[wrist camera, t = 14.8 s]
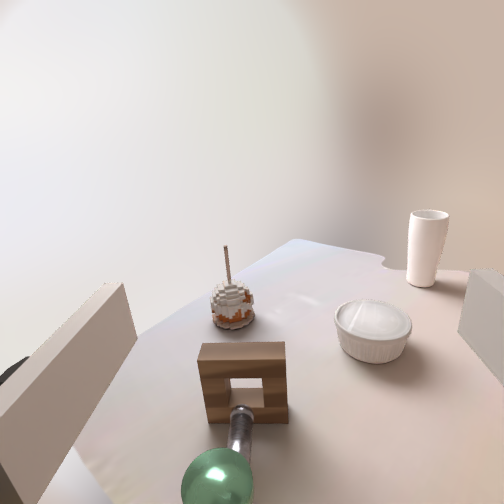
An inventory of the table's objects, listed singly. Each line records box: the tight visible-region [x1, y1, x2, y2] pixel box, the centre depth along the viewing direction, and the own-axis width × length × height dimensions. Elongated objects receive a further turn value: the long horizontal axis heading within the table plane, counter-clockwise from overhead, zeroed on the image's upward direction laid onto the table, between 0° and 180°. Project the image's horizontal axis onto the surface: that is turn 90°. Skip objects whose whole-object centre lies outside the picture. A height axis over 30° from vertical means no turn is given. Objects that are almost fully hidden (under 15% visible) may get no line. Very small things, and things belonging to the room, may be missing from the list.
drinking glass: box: [406, 210, 449, 287], centre depth 65 cm, size 7×7×15 cm
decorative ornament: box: [210, 245, 255, 329], centre depth 58 cm, size 8×8×15 cm
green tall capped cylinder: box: [181, 404, 254, 504], centre depth 29 cm, size 15×5×12 cm, turn 177°
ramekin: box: [334, 299, 412, 364], centre depth 50 cm, size 11×11×5 cm
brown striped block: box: [197, 342, 288, 424], centre depth 39 cm, size 3×10×10 cm, turn 87°
